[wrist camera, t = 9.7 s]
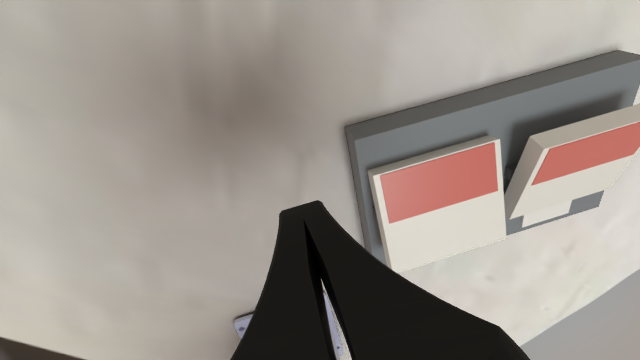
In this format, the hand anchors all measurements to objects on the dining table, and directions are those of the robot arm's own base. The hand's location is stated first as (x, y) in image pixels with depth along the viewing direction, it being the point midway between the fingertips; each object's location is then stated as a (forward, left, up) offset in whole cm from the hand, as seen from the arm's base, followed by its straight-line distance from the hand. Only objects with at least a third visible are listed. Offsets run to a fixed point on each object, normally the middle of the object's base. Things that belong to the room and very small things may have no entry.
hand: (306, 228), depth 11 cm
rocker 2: (-8, -18, -7) cm, 21 cm away
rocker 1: (-8, -9, -7) cm, 13 cm away
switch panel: (-8, -14, -10) cm, 19 cm away
